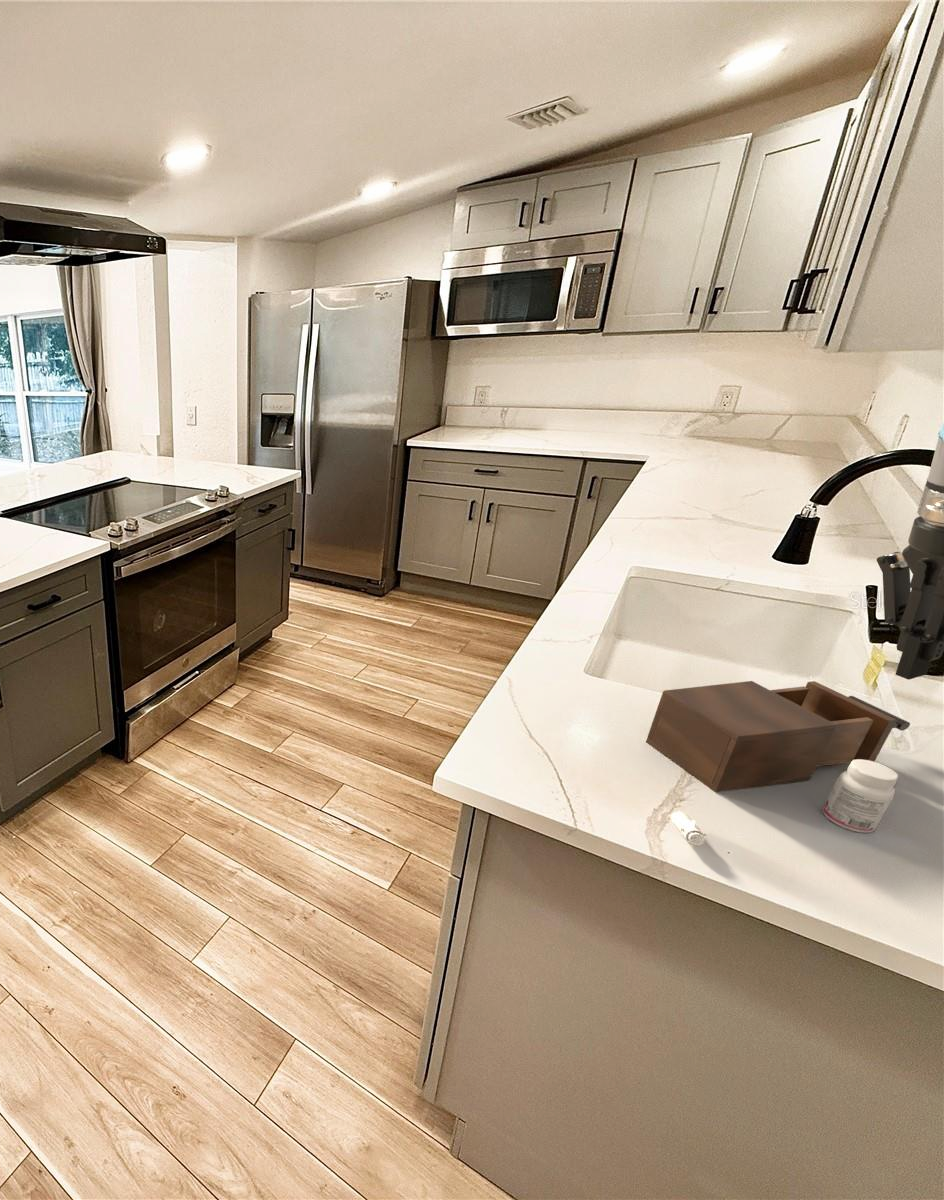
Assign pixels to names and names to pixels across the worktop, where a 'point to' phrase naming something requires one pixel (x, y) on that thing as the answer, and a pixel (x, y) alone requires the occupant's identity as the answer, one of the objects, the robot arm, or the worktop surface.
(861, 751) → the drawer
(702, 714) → the cabinet
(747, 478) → the worktop surface
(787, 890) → the worktop surface
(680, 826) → the small white plastic part
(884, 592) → the robot arm
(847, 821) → the pill bottle
